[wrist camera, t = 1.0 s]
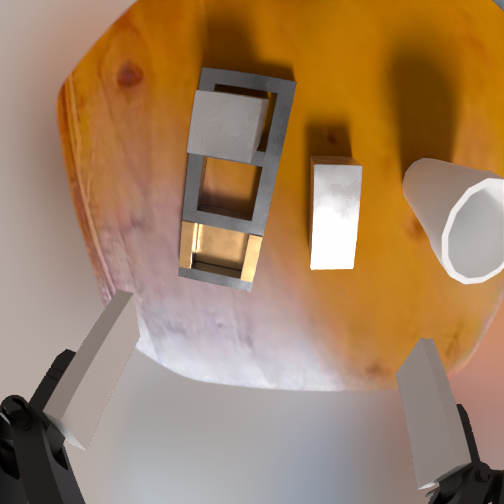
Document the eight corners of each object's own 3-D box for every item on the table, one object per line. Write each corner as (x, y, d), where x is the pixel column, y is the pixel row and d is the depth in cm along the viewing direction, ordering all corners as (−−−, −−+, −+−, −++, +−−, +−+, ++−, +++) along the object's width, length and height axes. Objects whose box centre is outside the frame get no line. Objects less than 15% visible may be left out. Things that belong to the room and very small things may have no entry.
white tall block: (225, 92, 27) (195, 90, 18) (269, 99, 27) (262, 99, 18) (218, 133, 30) (186, 152, 20) (260, 140, 30) (250, 163, 20)
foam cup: (404, 233, 33) (449, 300, 22) (377, 164, 29) (428, 208, 18) (465, 202, 30) (526, 254, 18) (445, 132, 26) (518, 161, 15)
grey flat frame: (207, 69, 26) (201, 67, 24) (295, 83, 26) (296, 82, 24) (183, 267, 38) (178, 276, 36) (252, 282, 38) (250, 292, 36)
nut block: (310, 155, 30) (314, 164, 26) (351, 156, 30) (362, 165, 26) (308, 248, 35) (311, 268, 31) (345, 248, 35) (352, 268, 31)
